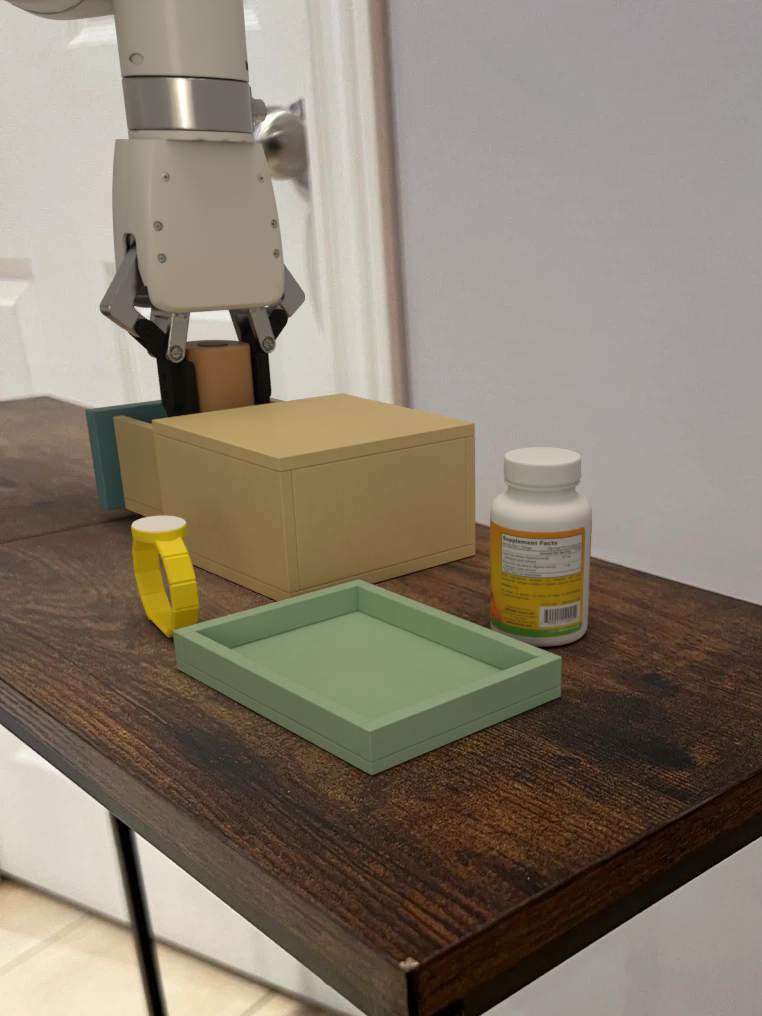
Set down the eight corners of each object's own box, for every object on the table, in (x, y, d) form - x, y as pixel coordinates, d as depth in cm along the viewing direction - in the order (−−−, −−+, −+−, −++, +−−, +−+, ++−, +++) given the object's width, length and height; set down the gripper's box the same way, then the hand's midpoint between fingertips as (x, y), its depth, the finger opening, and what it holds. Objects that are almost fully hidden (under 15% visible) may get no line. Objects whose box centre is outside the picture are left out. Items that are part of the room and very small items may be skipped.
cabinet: (167, 554, 74) (150, 419, 71) (348, 513, 84) (342, 393, 80) (290, 607, 66) (278, 457, 62) (475, 555, 75) (475, 422, 72)
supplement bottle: (513, 608, 66) (515, 439, 62) (601, 622, 65) (609, 449, 60) (473, 639, 62) (472, 459, 58) (566, 655, 60) (572, 471, 56)
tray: (176, 669, 58) (171, 629, 57) (360, 613, 65) (359, 578, 64) (371, 776, 48) (369, 730, 47) (561, 696, 55) (562, 656, 55)
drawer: (71, 496, 83) (56, 400, 80) (231, 467, 92) (223, 380, 89) (193, 546, 73) (180, 439, 70) (361, 509, 82) (356, 411, 79)
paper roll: (182, 499, 79) (164, 347, 74) (205, 482, 83) (189, 337, 79) (250, 502, 79) (236, 349, 74) (270, 485, 83) (258, 339, 78)
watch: (127, 617, 64) (112, 512, 61) (175, 607, 65) (162, 505, 63) (165, 651, 60) (151, 540, 57) (216, 640, 61) (205, 531, 59)
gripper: (271, 122, 79) (291, 394, 86) (26, 110, 67) (75, 423, 75) (338, 121, 74) (352, 409, 82) (87, 107, 63) (131, 442, 71)
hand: (219, 413), depth 78 cm, fingers closed on paper roll, 4 cm apart
